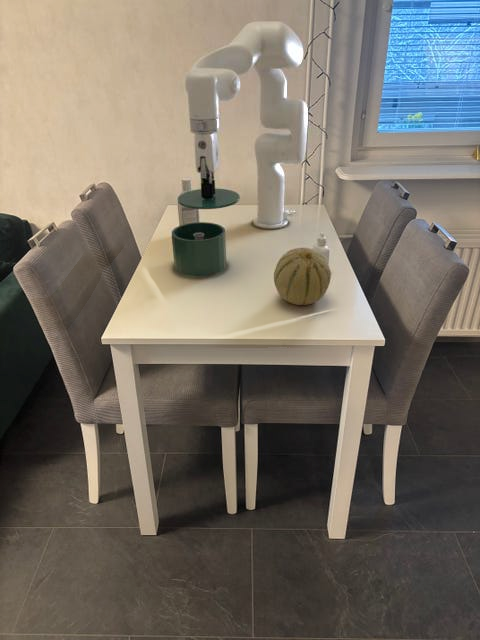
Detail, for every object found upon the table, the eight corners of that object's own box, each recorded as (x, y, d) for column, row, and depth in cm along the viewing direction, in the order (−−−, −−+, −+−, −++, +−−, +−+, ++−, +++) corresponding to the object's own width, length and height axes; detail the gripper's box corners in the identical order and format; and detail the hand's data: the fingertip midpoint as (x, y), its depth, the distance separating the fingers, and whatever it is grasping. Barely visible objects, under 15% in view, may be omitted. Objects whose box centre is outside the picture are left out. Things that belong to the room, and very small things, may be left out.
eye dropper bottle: (325, 267, 150) (328, 229, 144) (328, 275, 145) (331, 236, 139) (311, 267, 150) (313, 229, 144) (313, 275, 145) (315, 236, 139)
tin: (215, 253, 160) (214, 219, 155) (234, 272, 148) (233, 235, 142) (169, 262, 155) (165, 226, 150) (183, 282, 143) (180, 244, 137)
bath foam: (204, 236, 174) (200, 179, 164) (187, 241, 170) (183, 183, 160) (192, 231, 178) (188, 175, 168) (176, 236, 175) (171, 178, 164)
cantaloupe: (298, 283, 141) (300, 233, 133) (340, 301, 131) (345, 248, 124) (261, 301, 132) (261, 248, 124) (303, 321, 123) (306, 265, 115)
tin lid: (226, 189, 148) (225, 168, 145) (249, 205, 134) (249, 183, 131) (170, 197, 142) (168, 176, 139) (189, 215, 129) (187, 192, 125)
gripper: (214, 131, 121) (217, 205, 130) (223, 120, 135) (226, 187, 144) (183, 131, 122) (189, 205, 131) (196, 120, 135) (200, 187, 145)
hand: (208, 195), depth 137 cm, fingers closed on tin lid, 2 cm apart
